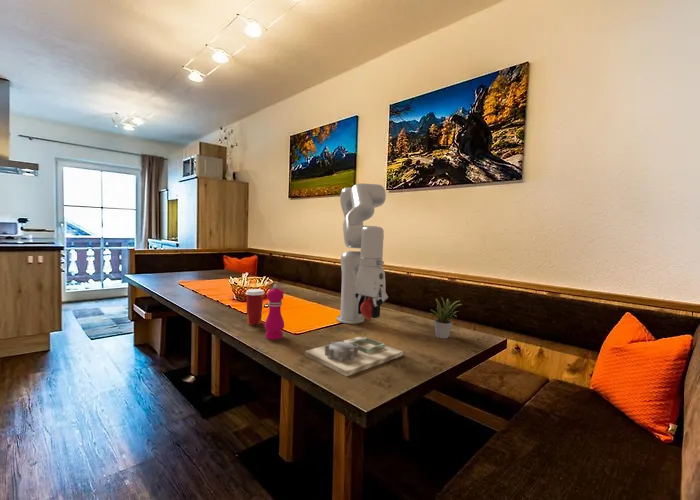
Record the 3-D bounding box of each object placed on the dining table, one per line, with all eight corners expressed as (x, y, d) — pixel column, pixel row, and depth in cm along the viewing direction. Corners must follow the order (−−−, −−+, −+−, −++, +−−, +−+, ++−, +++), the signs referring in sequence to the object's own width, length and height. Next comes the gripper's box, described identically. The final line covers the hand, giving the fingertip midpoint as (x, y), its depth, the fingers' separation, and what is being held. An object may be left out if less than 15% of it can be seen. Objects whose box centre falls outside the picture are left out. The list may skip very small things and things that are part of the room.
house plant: (470, 337, 139) (472, 297, 138) (454, 345, 129) (457, 302, 128) (438, 329, 149) (440, 292, 148) (421, 335, 139) (423, 295, 137)
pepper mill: (279, 341, 125) (280, 286, 124) (260, 338, 126) (262, 285, 125) (286, 335, 132) (288, 283, 131) (269, 333, 134) (270, 282, 132)
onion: (359, 317, 120) (360, 294, 119) (375, 317, 120) (376, 294, 120) (360, 321, 114) (361, 298, 114) (378, 322, 115) (379, 298, 114)
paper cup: (267, 322, 148) (268, 290, 147) (253, 326, 141) (254, 292, 140) (254, 319, 152) (255, 288, 151) (240, 323, 145) (241, 290, 144)
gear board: (360, 339, 130) (360, 328, 130) (402, 355, 116) (403, 342, 115) (304, 355, 112) (305, 342, 112) (346, 376, 98) (347, 361, 97)
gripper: (398, 265, 113) (395, 319, 114) (360, 260, 125) (358, 309, 126) (383, 266, 107) (380, 323, 108) (345, 260, 120) (343, 311, 121)
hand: (368, 315), depth 117 cm, fingers closed on onion, 5 cm apart
